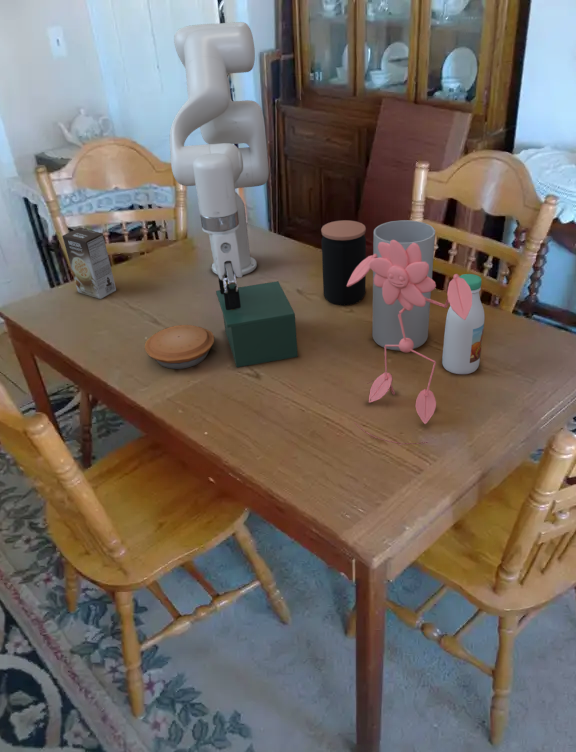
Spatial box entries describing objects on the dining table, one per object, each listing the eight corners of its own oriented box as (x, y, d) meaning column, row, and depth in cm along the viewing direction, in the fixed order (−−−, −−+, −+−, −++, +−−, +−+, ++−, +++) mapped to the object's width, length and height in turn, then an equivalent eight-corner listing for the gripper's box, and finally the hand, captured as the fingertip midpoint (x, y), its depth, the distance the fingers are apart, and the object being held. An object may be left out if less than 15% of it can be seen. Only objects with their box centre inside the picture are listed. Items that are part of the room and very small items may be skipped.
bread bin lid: (227, 327, 138) (224, 305, 134) (216, 293, 151) (213, 272, 147) (295, 316, 140) (293, 294, 137) (278, 284, 153) (276, 263, 150)
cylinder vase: (365, 348, 147) (366, 240, 132) (380, 321, 157) (382, 218, 141) (421, 355, 144) (428, 245, 128) (432, 328, 153) (440, 222, 138)
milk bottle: (457, 379, 136) (466, 290, 124) (434, 362, 141) (441, 275, 129) (486, 368, 138) (498, 280, 126) (463, 352, 144) (472, 266, 132)
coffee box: (76, 292, 178) (60, 235, 168) (94, 283, 182) (79, 226, 172) (100, 299, 174) (85, 241, 164) (118, 290, 178) (103, 232, 168)
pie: (197, 379, 141) (194, 359, 138) (135, 369, 146) (130, 349, 142) (227, 343, 152) (225, 324, 149) (168, 335, 157) (164, 316, 154)
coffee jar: (365, 287, 171) (366, 219, 160) (364, 306, 163) (365, 236, 152) (325, 287, 173) (322, 220, 161) (322, 306, 164) (319, 237, 153)
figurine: (363, 377, 138) (364, 212, 117) (472, 423, 124) (495, 244, 102) (315, 411, 129) (306, 240, 108) (426, 465, 115) (441, 279, 94)
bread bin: (236, 367, 144) (231, 327, 138) (225, 331, 157) (219, 293, 151) (297, 356, 146) (295, 317, 140) (281, 322, 159) (278, 284, 153)
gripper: (245, 233, 126) (254, 315, 137) (231, 204, 140) (240, 281, 151) (206, 238, 125) (219, 321, 136) (196, 208, 139) (208, 286, 149)
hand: (230, 300), depth 143 cm, fingers open, 7 cm apart
